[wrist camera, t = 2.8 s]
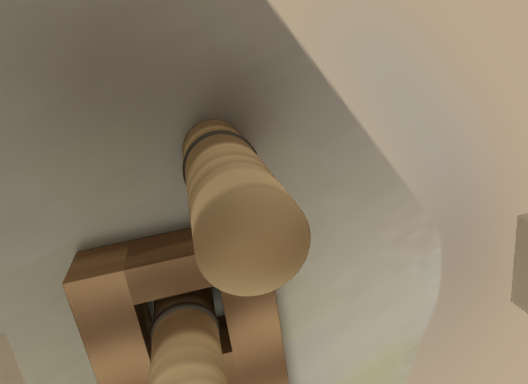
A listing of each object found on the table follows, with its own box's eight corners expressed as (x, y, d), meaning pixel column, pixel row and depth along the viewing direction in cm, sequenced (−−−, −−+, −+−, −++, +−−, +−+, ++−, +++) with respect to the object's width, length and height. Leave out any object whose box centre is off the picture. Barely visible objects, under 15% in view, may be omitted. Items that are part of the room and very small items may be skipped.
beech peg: (174, 124, 26) (179, 200, 13) (240, 113, 27) (306, 174, 14) (187, 187, 27) (204, 311, 14) (249, 175, 28) (318, 283, 15)
